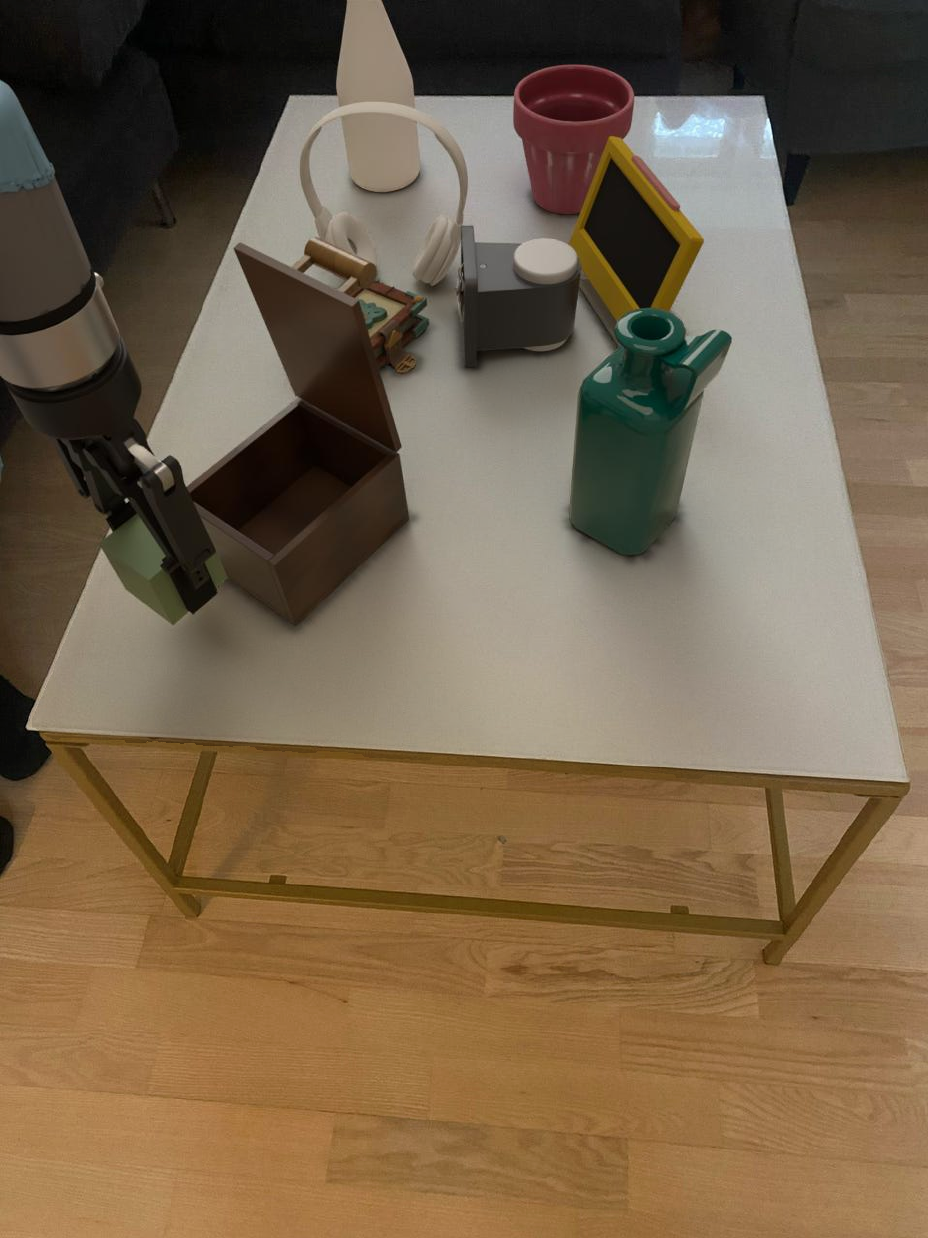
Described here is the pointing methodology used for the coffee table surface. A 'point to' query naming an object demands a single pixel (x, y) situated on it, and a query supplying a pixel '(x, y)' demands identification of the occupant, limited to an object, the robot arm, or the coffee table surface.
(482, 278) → the light fixture
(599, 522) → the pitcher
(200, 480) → the bin
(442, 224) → the headphones
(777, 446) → the coffee table surface
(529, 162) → the flower pot
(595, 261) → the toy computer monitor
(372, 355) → the bin lid
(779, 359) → the coffee table surface
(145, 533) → the block
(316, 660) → the coffee table surface
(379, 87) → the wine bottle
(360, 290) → the decorative book
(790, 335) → the coffee table surface
